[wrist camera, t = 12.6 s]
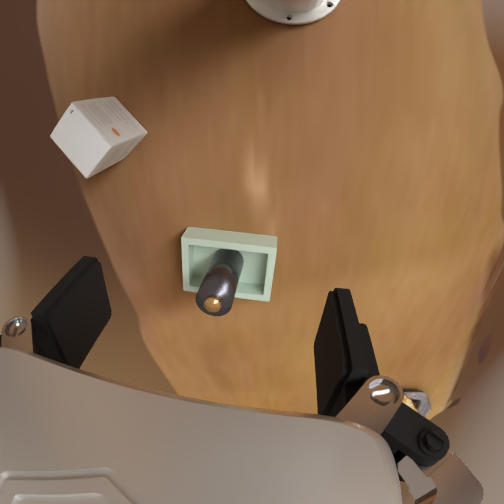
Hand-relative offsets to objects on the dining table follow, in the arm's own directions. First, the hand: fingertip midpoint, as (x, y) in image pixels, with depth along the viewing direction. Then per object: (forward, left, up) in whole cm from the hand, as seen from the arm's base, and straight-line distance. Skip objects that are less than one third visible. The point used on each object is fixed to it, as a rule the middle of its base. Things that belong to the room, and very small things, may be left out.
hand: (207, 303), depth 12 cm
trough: (+16, -3, -30) cm, 34 cm away
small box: (-3, -20, -31) cm, 37 cm away
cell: (+16, -3, -29) cm, 34 cm away
